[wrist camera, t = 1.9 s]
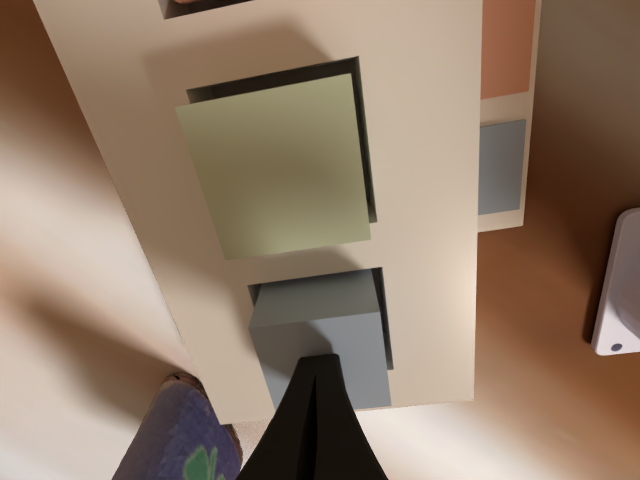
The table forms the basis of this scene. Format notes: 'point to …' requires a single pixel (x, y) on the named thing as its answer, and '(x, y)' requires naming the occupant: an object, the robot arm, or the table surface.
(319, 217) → the sage key
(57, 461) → the table surface
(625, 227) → the robot arm
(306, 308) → the slate key
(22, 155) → the table surface
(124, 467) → the flask
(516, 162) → the tile
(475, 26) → the keypad base
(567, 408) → the table surface
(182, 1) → the terracotta key
